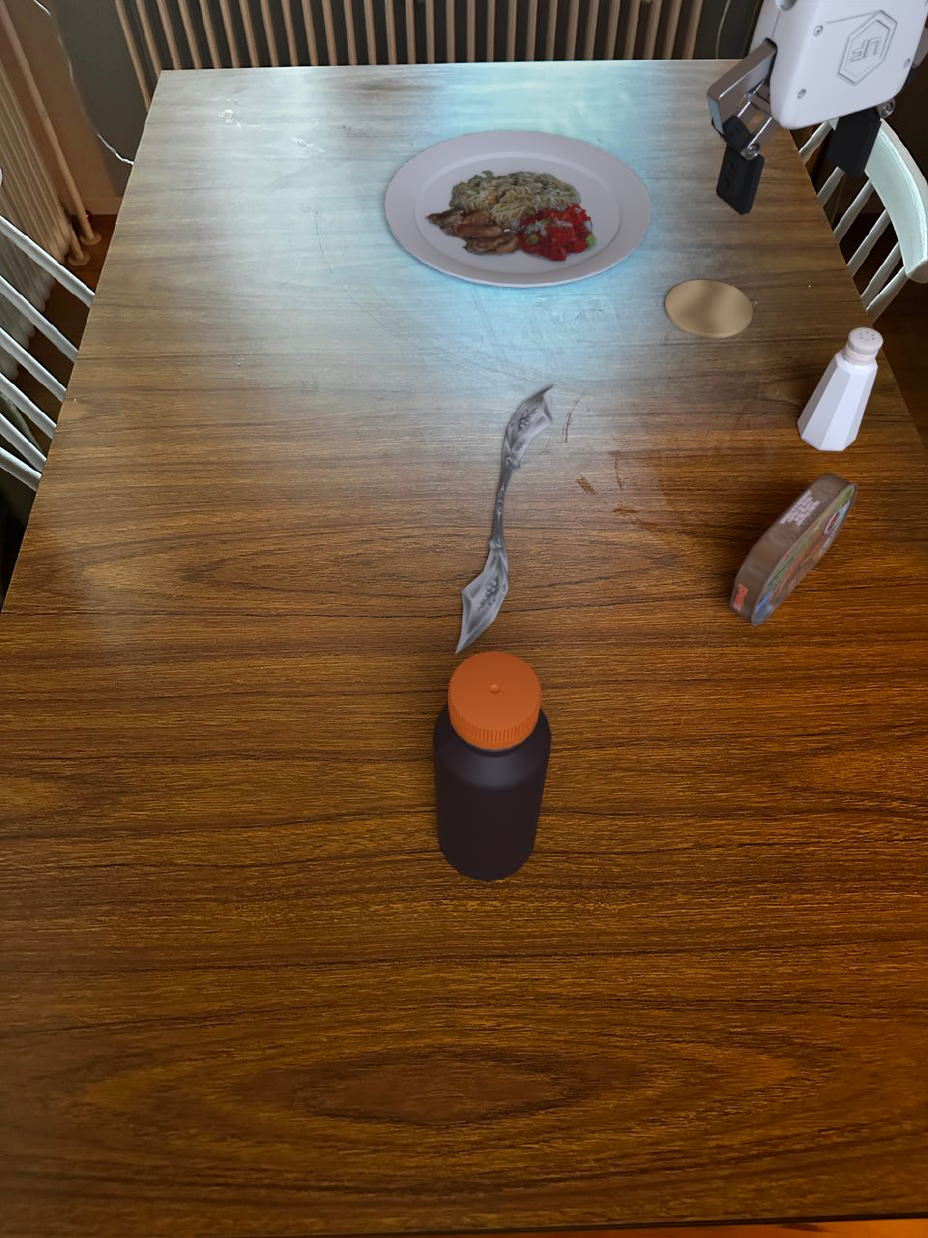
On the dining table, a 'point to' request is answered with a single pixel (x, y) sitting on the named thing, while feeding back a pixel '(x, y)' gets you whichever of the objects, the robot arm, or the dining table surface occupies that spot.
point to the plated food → (518, 209)
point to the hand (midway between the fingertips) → (788, 185)
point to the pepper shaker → (842, 393)
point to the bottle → (490, 765)
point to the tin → (791, 547)
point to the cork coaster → (708, 309)
